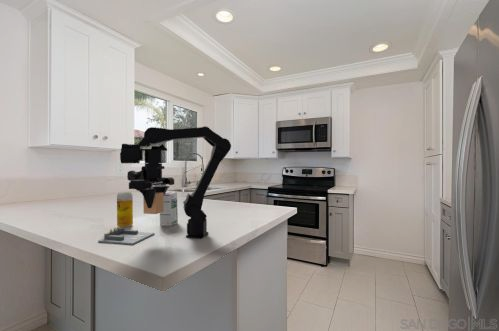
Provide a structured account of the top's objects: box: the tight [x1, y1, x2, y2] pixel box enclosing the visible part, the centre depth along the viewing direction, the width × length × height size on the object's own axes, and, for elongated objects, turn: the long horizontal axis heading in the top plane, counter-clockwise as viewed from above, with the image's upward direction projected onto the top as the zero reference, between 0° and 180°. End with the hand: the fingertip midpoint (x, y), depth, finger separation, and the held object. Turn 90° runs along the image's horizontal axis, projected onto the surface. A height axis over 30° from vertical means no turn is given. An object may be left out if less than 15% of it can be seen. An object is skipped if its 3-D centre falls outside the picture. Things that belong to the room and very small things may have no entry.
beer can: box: [116, 191, 134, 229], centre depth 103 cm, size 6×6×15 cm
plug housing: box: [142, 192, 164, 215], centre depth 84 cm, size 5×5×7 cm
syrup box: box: [159, 191, 179, 227], centre depth 106 cm, size 6×6×14 cm
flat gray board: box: [97, 226, 156, 246], centre depth 87 cm, size 14×12×3 cm
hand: (153, 206), depth 84 cm, fingers closed on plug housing, 4 cm apart
